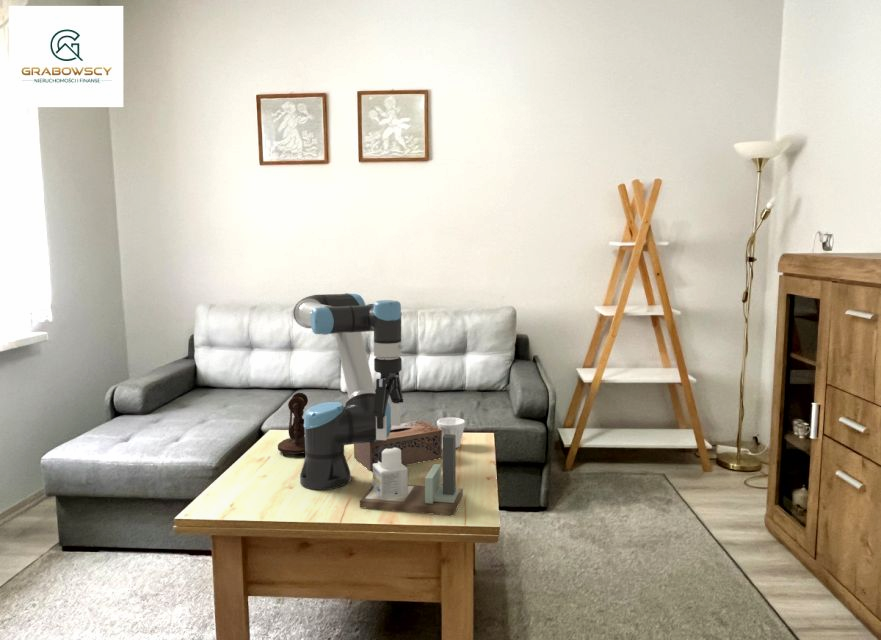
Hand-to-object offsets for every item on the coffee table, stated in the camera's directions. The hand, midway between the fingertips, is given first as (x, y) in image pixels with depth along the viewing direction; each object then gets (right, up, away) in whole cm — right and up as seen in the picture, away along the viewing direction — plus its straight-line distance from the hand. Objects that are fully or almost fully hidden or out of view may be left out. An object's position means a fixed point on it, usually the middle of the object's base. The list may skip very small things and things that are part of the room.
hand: (388, 432), depth 176 cm
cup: (+18, -14, +49) cm, 54 cm away
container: (0, -17, +2) cm, 17 cm away
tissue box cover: (0, -16, +37) cm, 40 cm away
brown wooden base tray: (+7, -19, +1) cm, 20 cm away
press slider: (+15, -17, -2) cm, 23 cm away
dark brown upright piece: (-35, -15, +45) cm, 59 cm away
